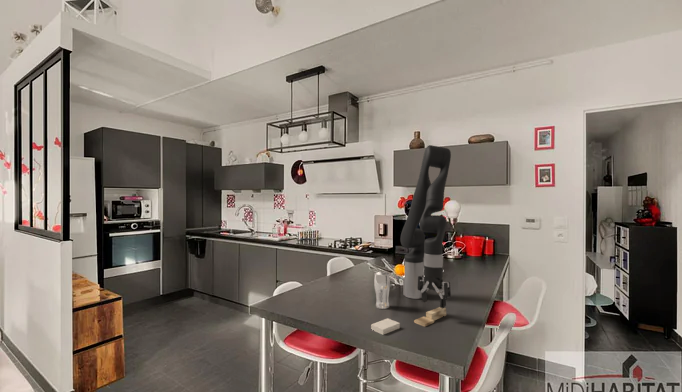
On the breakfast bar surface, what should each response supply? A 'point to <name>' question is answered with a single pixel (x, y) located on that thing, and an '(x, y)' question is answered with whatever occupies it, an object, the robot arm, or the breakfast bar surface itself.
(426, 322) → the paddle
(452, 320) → the breakfast bar surface
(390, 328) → the tile
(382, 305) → the beer glass
